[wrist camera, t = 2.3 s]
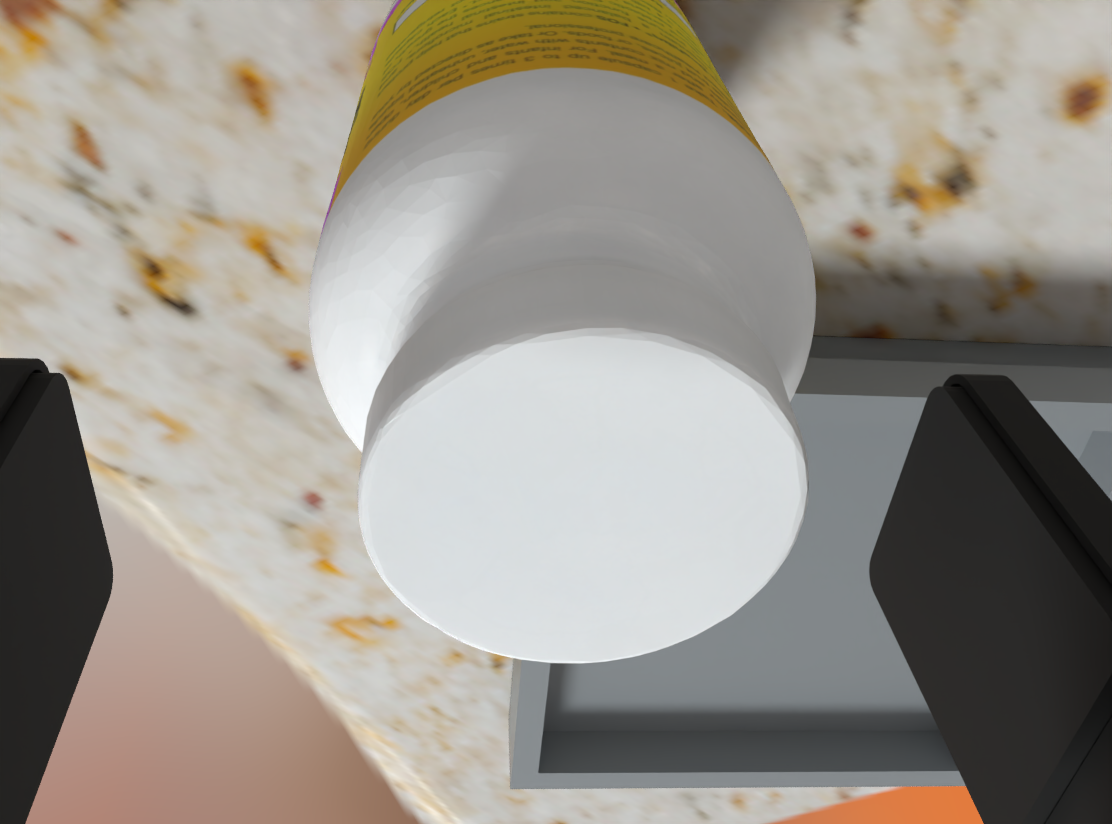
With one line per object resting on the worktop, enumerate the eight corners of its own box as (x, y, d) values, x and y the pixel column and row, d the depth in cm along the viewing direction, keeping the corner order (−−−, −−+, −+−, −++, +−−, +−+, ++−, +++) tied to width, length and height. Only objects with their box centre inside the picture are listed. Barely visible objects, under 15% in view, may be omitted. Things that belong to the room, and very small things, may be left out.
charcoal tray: (1132, 347, 25) (1189, 405, 23) (949, 720, 34) (978, 785, 32) (540, 325, 24) (545, 385, 22) (508, 720, 33) (510, 789, 31)
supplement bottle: (320, -31, 19) (123, 320, 9) (663, -127, 18) (899, 122, 8) (430, 272, 23) (386, 764, 12) (716, 201, 22) (920, 656, 12)
